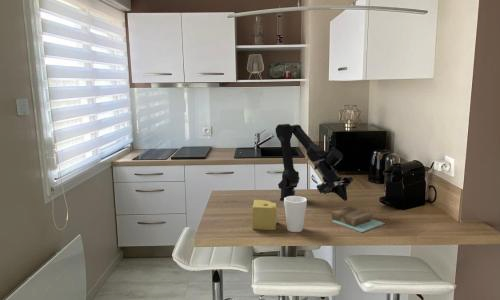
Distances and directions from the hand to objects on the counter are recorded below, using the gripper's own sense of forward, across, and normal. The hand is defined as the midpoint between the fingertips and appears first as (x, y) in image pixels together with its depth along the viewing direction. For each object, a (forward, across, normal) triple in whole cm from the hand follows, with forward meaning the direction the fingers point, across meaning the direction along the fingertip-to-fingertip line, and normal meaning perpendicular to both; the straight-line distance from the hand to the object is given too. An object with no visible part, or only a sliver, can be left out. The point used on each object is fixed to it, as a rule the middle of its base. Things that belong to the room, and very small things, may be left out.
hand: (346, 200), depth 176 cm
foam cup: (+3, +27, -10) cm, 29 cm away
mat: (+11, 0, -1) cm, 11 cm away
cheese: (-5, +34, -18) cm, 39 cm away
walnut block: (+3, 0, -6) cm, 7 cm away
